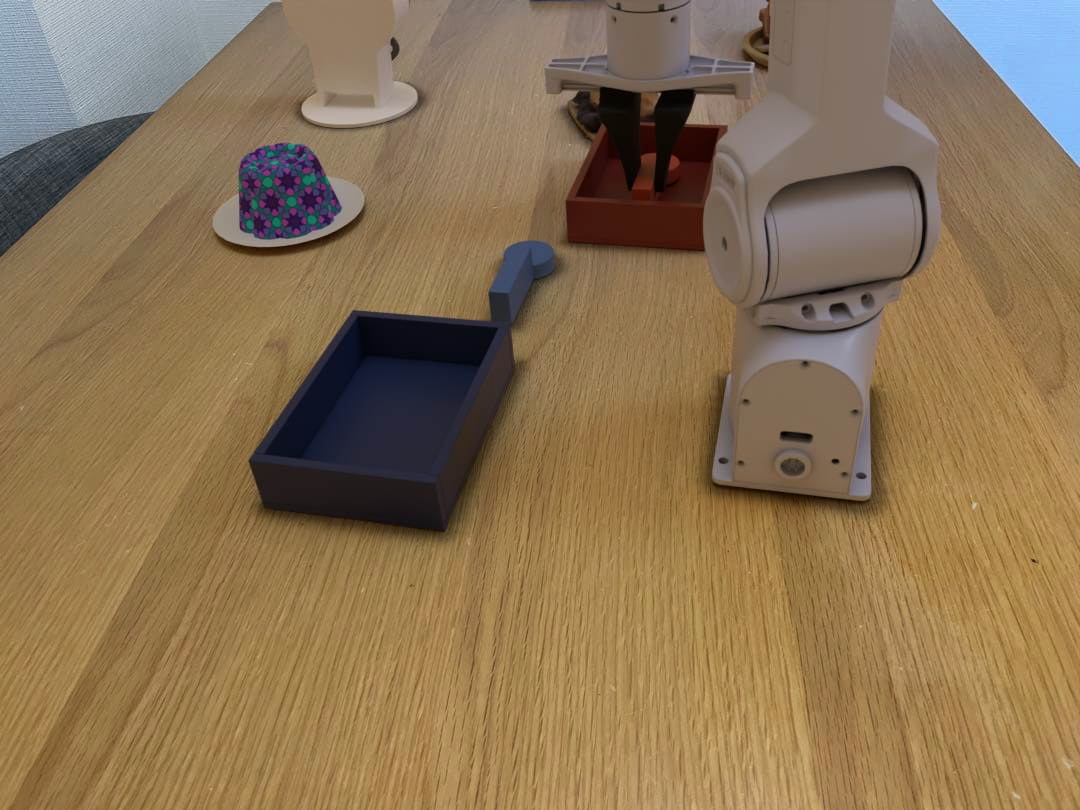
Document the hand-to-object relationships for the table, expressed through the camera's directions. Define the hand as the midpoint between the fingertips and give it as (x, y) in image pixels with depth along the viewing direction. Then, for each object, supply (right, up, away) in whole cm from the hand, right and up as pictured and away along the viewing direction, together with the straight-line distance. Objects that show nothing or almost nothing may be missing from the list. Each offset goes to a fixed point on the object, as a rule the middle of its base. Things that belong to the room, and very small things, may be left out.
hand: (647, 185), depth 75 cm
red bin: (0, -1, +2) cm, 2 cm away
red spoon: (0, 0, +2) cm, 2 cm away
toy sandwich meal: (+18, +19, +26) cm, 37 cm away
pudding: (-28, -2, +4) cm, 28 cm away
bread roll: (-1, +9, +15) cm, 17 cm away
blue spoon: (-10, -9, -6) cm, 14 cm away
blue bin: (-16, -18, -18) cm, 30 cm away
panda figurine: (-26, +13, +22) cm, 36 cm away
